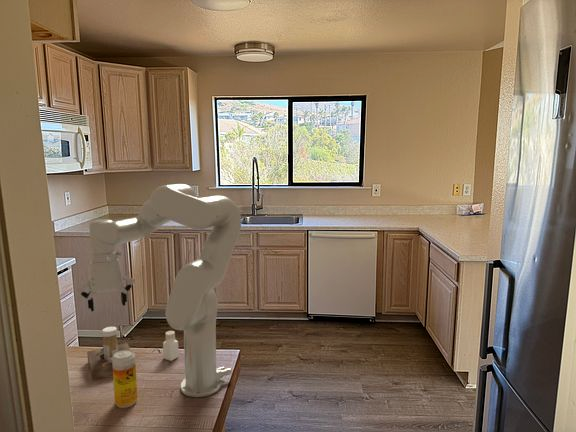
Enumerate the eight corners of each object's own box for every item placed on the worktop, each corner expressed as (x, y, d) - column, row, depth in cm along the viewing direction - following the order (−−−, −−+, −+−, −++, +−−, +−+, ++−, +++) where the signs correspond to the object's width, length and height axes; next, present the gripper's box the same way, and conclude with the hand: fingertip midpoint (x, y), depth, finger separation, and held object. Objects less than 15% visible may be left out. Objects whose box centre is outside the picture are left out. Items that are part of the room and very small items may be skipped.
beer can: (123, 411, 110) (120, 361, 108) (110, 404, 114) (107, 355, 112) (142, 400, 116) (139, 352, 114) (128, 394, 119) (126, 347, 117)
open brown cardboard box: (127, 353, 145) (126, 338, 144) (135, 370, 133) (134, 353, 132) (88, 362, 138) (86, 346, 137) (92, 381, 126) (91, 364, 125)
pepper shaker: (162, 358, 140) (161, 333, 139) (171, 354, 144) (170, 329, 142) (170, 361, 138) (169, 336, 137) (179, 357, 142) (178, 331, 140)
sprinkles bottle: (120, 367, 135) (118, 329, 133) (105, 371, 132) (103, 332, 130) (117, 361, 138) (115, 324, 137) (103, 365, 136) (100, 327, 134)
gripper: (130, 251, 138) (133, 299, 140) (73, 258, 129) (78, 309, 131) (134, 255, 131) (137, 305, 134) (75, 263, 122) (80, 316, 125)
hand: (108, 307), depth 132 cm, fingers open, 9 cm apart
